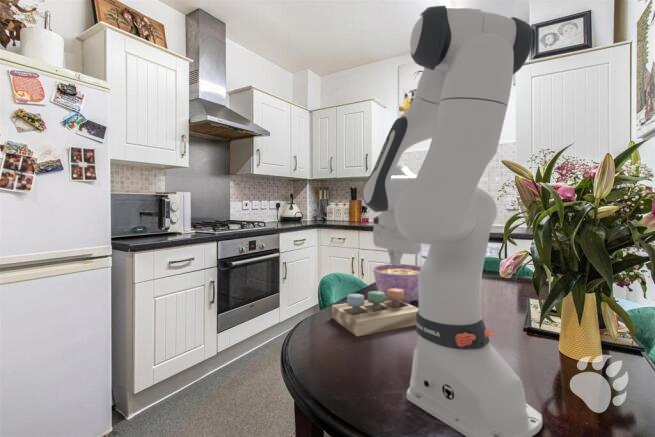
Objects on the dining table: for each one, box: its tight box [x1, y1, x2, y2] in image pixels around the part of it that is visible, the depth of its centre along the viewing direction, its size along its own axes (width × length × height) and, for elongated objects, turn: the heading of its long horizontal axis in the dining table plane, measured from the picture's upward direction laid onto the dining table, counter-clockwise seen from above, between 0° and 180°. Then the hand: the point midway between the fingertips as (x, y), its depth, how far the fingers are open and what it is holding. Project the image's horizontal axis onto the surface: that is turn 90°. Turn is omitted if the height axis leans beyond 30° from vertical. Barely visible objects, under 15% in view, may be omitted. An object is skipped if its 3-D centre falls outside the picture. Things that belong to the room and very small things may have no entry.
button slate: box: [346, 293, 365, 315], centre depth 96 cm, size 5×5×6 cm
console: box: [331, 297, 418, 337], centre depth 99 cm, size 16×22×4 cm
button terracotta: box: [387, 288, 404, 309], centre depth 102 cm, size 5×5×6 cm
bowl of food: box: [372, 263, 422, 304], centre depth 120 cm, size 20×20×12 cm
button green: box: [367, 290, 385, 312], centre depth 99 cm, size 5×5×6 cm
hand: (395, 264), depth 102 cm, fingers closed
